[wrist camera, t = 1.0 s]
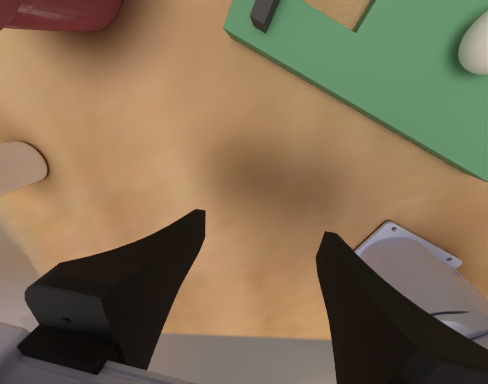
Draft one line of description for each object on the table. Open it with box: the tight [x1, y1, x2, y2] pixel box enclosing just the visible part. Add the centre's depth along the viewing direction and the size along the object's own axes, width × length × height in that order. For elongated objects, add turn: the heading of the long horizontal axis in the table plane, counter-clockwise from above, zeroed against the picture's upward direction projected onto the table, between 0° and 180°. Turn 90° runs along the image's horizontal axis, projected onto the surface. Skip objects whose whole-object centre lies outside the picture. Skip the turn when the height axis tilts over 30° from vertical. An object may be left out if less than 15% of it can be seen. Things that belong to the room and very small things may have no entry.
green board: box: [223, 0, 488, 182], centre depth 12 cm, size 24×12×6 cm, turn 63°
